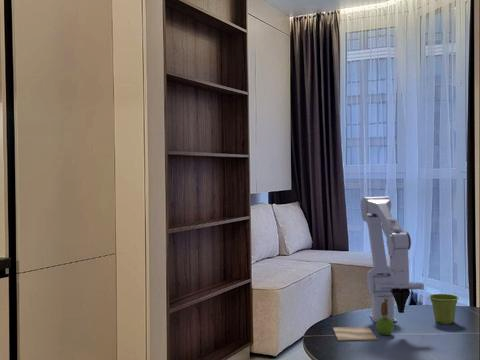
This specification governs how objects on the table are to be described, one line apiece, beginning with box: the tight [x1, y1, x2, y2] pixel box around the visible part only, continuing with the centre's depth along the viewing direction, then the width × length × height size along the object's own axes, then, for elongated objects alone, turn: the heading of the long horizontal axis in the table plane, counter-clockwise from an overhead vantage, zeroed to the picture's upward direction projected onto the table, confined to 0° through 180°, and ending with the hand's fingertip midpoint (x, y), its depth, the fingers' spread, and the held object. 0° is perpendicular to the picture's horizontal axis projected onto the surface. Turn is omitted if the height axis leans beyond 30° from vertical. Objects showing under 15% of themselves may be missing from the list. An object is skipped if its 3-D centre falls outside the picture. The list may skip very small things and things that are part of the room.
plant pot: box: [429, 293, 459, 325], centre depth 178 cm, size 9×9×9 cm
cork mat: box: [332, 326, 378, 342], centre depth 166 cm, size 14×12×1 cm
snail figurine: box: [375, 295, 395, 336], centre depth 165 cm, size 5×6×12 cm
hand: (400, 312), depth 165 cm, fingers closed
